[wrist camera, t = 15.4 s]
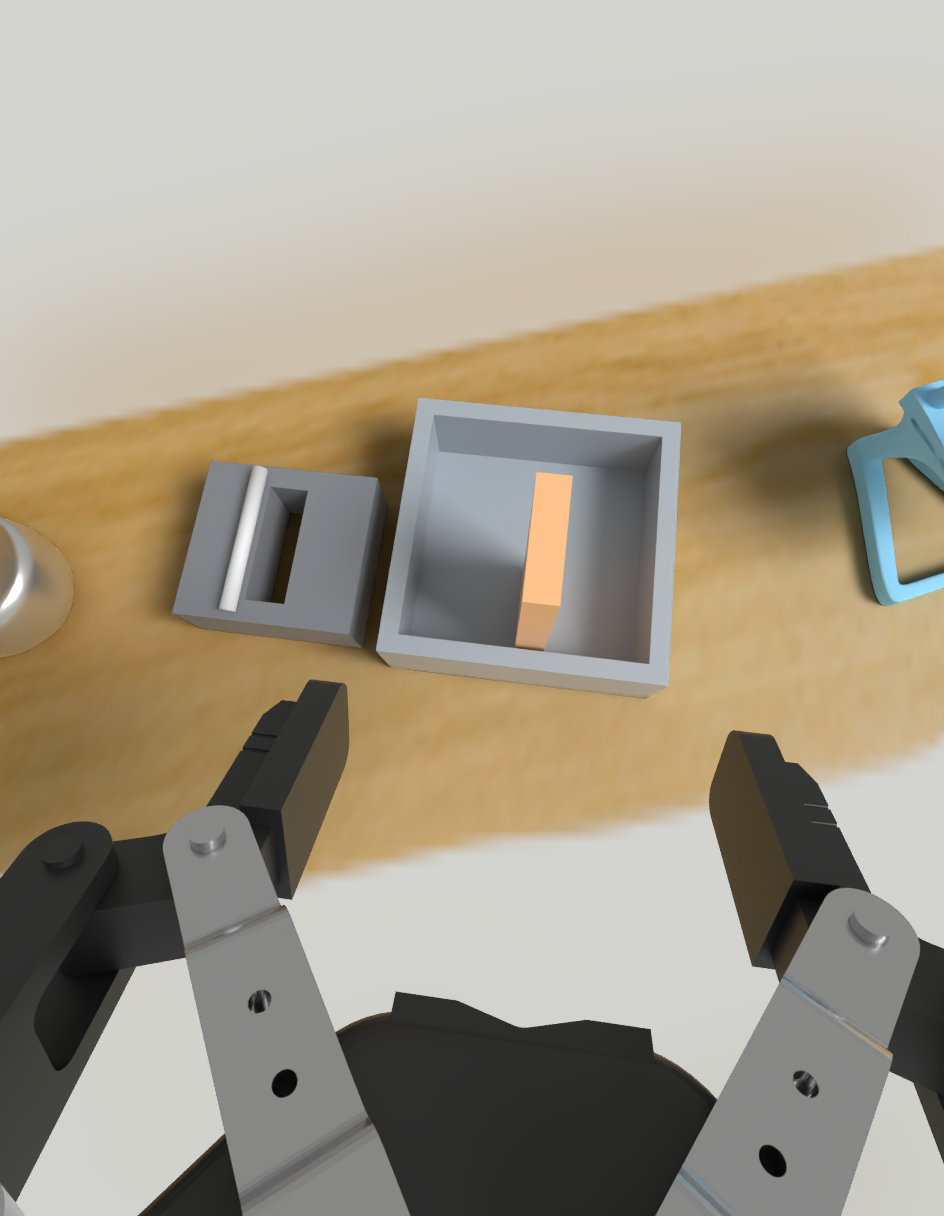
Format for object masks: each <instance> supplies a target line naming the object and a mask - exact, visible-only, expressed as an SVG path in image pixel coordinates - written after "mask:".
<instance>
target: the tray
mask: <svg viewBox="0 0 944 1216" xmlns="http://www.w3.org/2000/svg"><path fill="white" fill-rule="evenodd" d="M680 440H681V423H680V422H670V421H659V420H649V419H638V418H628V417H617V416H606V415H596V414H585V413H575V412H564V411H554V410H543V409H532V408H522V407H511V406H501V405H490V404H479V403H469V402H458V401H448V400H437V399H427V398H419V399H418V405H417V411H416V417H415V423H414V429H413V435H412V441H411V447H410V452H409V458H408V464H407V470H406V476H405V482H404V488H403V494H402V499H401V505H400V511H399V517H398V523H397V529H396V535H395V541H394V546H393V552H392V558H391V564H390V570H389V576H388V582H387V588H386V594H385V599H384V605H383V611H382V617H381V623H380V629H379V635H378V641H377V646H376V651H377V653H378V654H379V655H380V656H381V657H382V658H383V659H384V660H385V662H386V663H387V664H388V665H389V666H390V667H392V668H400V669H408V670H416V671H425V672H433V673H441V674H449V675H457V676H465V677H473V678H482V679H490V680H498V681H506V682H514V683H522V684H531V685H539V686H547V687H555V688H563V689H571V690H580V691H588V692H596V693H604V694H612V695H620V696H629V697H637V698H645V699H646V698H648V697H649V696H651V695H653V694H655V693H657V692H658V691H660V690H662V689H664V688H666V687H667V686H668V682H669V662H670V641H671V621H672V601H673V581H674V561H675V541H676V520H677V500H678V480H679V460H680ZM537 472H541V473H551V474H561V475H571V476H573V479H572V489H571V500H570V510H569V521H568V531H567V541H566V552H565V562H564V573H563V583H562V594H561V604H560V608H559V611H558V614H557V616H556V619H555V622H554V624H553V627H552V630H551V632H550V635H549V638H548V640H547V643H546V646H545V648H544V651H535V650H526V649H518V648H514V646H515V638H516V629H517V620H518V611H519V602H520V593H521V585H522V576H523V567H524V560H525V553H526V545H527V538H528V531H529V524H530V516H531V509H532V502H533V494H534V487H535V480H536V473H537Z"/></svg>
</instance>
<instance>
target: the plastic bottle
mask: <svg viewBox="0 0 944 1216" xmlns="http://www.w3.org/2000/svg"><path fill="white" fill-rule="evenodd" d="M73 599H74V579H73V573H72V570H71V567H70V565H69V562H68V561H67V559H66V558H65V557H64V555H63V554H62V553H61V552H60V551H59V550H58V549H57V548H56V547H55V546H54V545H52V544H51V543H50V542H49V541H48V540H47V539H46V538H44V537H43V536H42V535H41V534H40V533H39V532H37V531H35V530H33V529H31V528H29V527H27V526H24V525H22V524H19V523H16V522H14V521H11V520H8V519H5V518H2V517H0V657H9V656H13V655H17V654H20V653H24V652H26V651H28V650H30V649H32V648H34V647H36V646H37V645H39V644H40V643H42V642H43V641H45V640H46V639H47V638H49V637H50V636H52V635H53V634H54V633H55V632H56V631H57V630H58V629H59V628H60V626H61V625H62V624H63V622H64V621H65V619H66V618H67V616H68V614H69V612H70V610H71V606H72V603H73Z"/></svg>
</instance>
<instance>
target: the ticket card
mask: <svg viewBox="0 0 944 1216" xmlns="http://www.w3.org/2000/svg"><path fill="white" fill-rule="evenodd" d="M572 479H573V476H571V475H561V474H551V473H541V472H537V473H536V480H535V487H534V494H533V502H532V509H531V516H530V524H529V531H528V538H527V545H526V553H525V560H524V567H523V576H522V585H521V593H520V602H519V611H518V620H517V629H516V638H515V646H514V648H518V649H526V650H535V651H544V648H545V646H546V643H547V640H548V638H549V635H550V632H551V630H552V627H553V624H554V622H555V619H556V616H557V614H558V611H559V608H560V604H561V594H562V583H563V573H564V562H565V552H566V541H567V531H568V521H569V510H570V500H571V489H572Z"/></svg>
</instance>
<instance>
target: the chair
mask: <svg viewBox="0 0 944 1216" xmlns="http://www.w3.org/2000/svg"><path fill="white" fill-rule="evenodd" d="M899 403H900V405H901V407H902V408H903V410H904V415H903V418H902V421H901V422H900V423H899V424H898V425H897V426H895V427H893V428H890V429H888V430H885V431H882V432H879V433H876V434H872V435H869V436H865V437H862V438H860V439H858V440H857V441H855V442H854V443H853V444H851V445H850V446H849V447H848V449H847V455H848V458H849V462H850V465H851V469H852V472H853V477H854V481H855V485H856V490H857V496H858V502H859V507H860V514H861V520H862V526H863V533H864V539H865V545H866V551H867V558H868V563H869V569H870V574H871V580H872V583H873V587H874V591H875V594H876V597H877V599H878V601H879V602H880V604H881V605H884V606H891V605H894V604H897V603H900V602H903V601H906V600H909V599H912V598H915V597H918V596H921V595H924V594H927V593H930V592H933V591H936V590H939V589H942V588H944V573H941V574H937V575H934V576H931V577H928V578H925V579H922V580H918V581H915V582H912V583H909V584H906V585H900V583H899V582H898V577H897V571H896V564H895V556H894V548H893V540H892V532H891V523H890V515H889V507H888V499H887V492H886V485H885V478H884V471H883V467H882V462H881V460H883V459H890V458H903V457H905V458H907V459H908V460H909V461H910V462H911V463H912V464H913V465H914V466H915V467H916V468H918V469H919V470H920V471H921V472H922V473H923V474H924V475H925V476H926V477H927V478H929V479H930V480H931V481H932V482H933V483H934V484H935V485H936V486H937V487H939V488H940V489H941V490H942V491H943V492H944V379H943V380H940V381H937V382H933V383H930V384H927V385H924V386H921V387H918V388H915V389H912V390H911V391H910V392H908V393H907V394H906V395H905V396H904V397H903V398H902V399H901V400H900V401H899Z"/></svg>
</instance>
